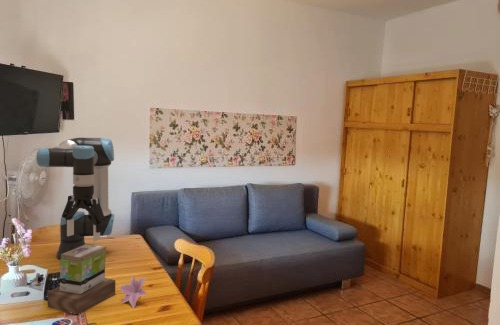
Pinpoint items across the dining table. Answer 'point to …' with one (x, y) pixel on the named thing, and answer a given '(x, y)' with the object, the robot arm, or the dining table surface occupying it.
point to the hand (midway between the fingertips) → (83, 237)
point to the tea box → (82, 268)
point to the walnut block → (81, 297)
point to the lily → (133, 290)
